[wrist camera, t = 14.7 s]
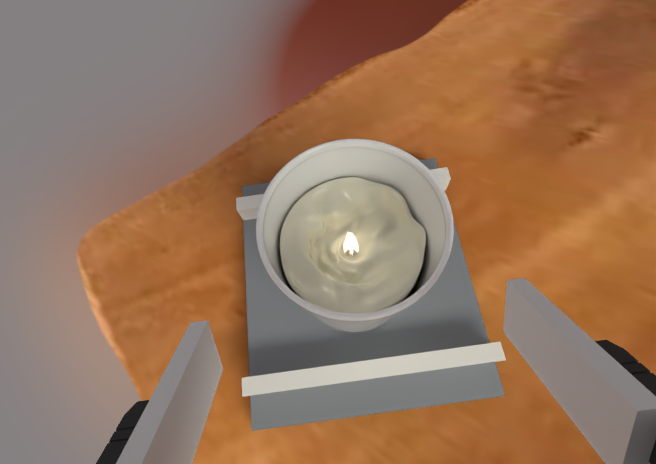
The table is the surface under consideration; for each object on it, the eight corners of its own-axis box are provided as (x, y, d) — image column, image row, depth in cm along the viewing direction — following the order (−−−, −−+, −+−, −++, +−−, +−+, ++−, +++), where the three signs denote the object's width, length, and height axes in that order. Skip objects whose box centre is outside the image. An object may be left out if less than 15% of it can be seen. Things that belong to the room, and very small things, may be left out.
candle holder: (375, 206, 31) (388, 111, 20) (438, 306, 27) (497, 258, 16) (273, 256, 30) (227, 184, 19) (325, 367, 26) (305, 361, 15)
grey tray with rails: (246, 193, 34) (235, 174, 31) (432, 166, 34) (440, 144, 30) (256, 427, 26) (243, 435, 23) (496, 394, 26) (517, 397, 23)
